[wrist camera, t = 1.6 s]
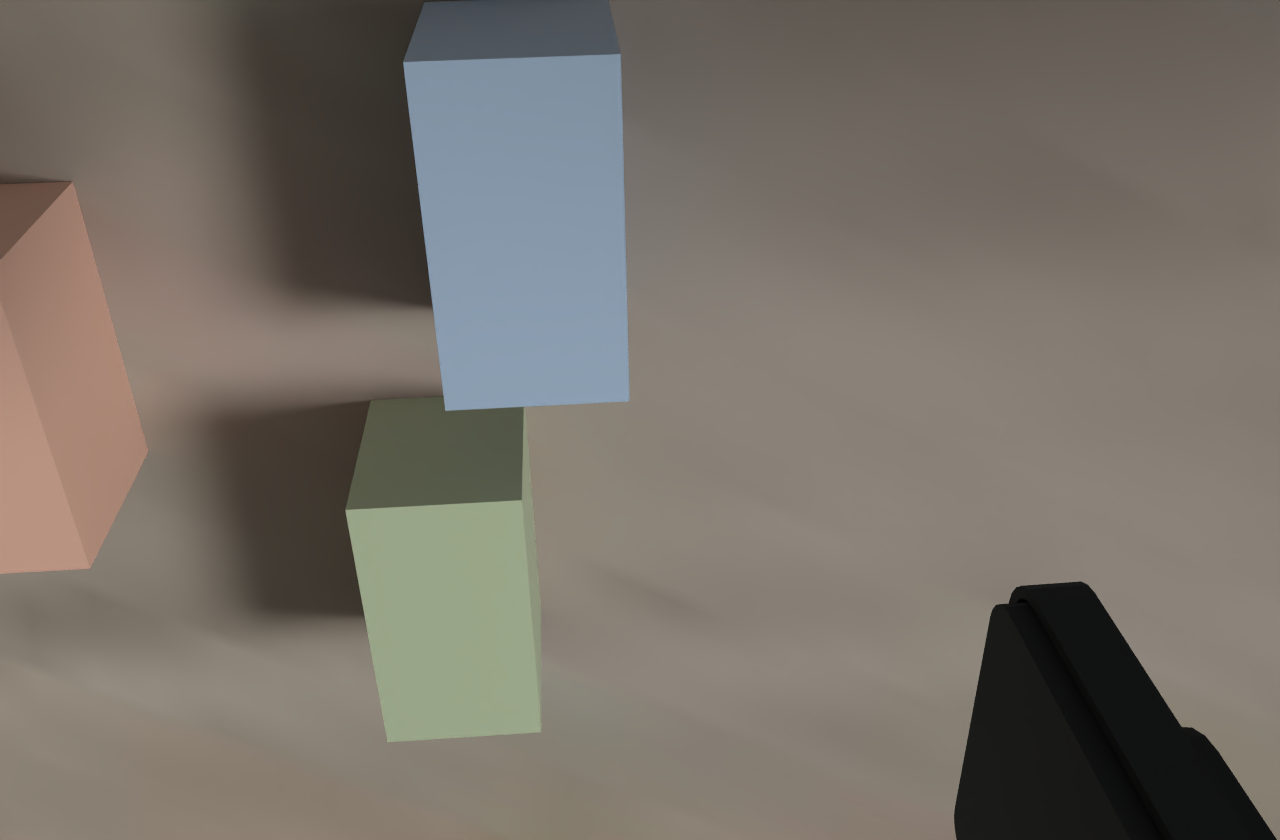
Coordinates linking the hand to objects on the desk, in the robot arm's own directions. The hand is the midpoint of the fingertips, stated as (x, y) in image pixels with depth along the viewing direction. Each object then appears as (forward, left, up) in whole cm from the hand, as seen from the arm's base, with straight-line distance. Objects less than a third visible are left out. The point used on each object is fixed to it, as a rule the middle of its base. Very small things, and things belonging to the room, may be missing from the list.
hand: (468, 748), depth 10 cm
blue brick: (0, 0, -14) cm, 14 cm away
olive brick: (+2, +8, -14) cm, 17 cm away
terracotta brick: (+10, +3, -14) cm, 18 cm away
